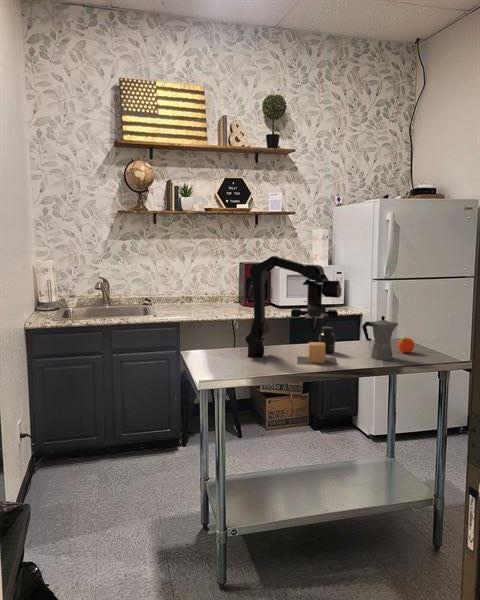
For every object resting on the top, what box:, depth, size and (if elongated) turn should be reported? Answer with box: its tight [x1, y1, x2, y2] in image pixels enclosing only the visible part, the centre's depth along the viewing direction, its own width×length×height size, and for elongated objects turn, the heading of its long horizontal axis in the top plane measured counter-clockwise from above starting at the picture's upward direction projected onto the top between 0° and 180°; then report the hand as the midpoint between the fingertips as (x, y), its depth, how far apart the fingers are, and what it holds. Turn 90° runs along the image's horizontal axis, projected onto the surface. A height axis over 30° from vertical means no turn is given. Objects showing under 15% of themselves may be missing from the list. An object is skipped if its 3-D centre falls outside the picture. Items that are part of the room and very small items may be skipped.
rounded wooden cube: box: [308, 341, 326, 363], centre depth 209 cm, size 6×6×7 cm
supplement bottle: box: [318, 326, 336, 355], centre depth 226 cm, size 7×7×12 cm
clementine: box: [397, 336, 415, 354], centre depth 229 cm, size 8×7×7 cm
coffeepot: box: [361, 315, 399, 361], centre depth 219 cm, size 15×9×18 cm, turn 93°
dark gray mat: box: [296, 355, 339, 366], centre depth 210 cm, size 16×14×1 cm
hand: (313, 334), depth 210 cm, fingers closed
